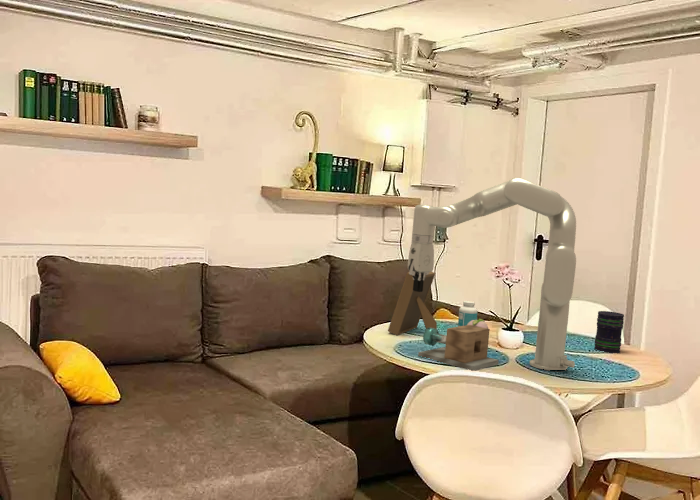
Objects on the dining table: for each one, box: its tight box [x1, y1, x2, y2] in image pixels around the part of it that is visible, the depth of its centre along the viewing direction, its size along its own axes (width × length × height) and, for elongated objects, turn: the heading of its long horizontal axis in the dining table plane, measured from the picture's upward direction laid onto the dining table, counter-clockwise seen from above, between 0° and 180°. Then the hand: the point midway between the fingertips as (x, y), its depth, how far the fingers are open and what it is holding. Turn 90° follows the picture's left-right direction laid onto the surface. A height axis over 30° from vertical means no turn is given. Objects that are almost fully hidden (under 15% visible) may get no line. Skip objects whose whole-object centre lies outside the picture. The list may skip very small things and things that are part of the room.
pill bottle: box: [457, 300, 478, 327], centre depth 288 cm, size 8×7×14 cm
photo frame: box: [387, 271, 438, 336], centre depth 282 cm, size 15×22×25 cm
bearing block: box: [417, 325, 499, 371], centre depth 239 cm, size 22×16×12 cm
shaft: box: [422, 327, 447, 347], centre depth 242 cm, size 16×6×6 cm, turn 49°
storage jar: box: [594, 310, 625, 354], centre depth 277 cm, size 10×10×15 cm
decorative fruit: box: [467, 316, 489, 329], centre depth 273 cm, size 9×8×10 cm
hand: (417, 291), depth 250 cm, fingers closed
